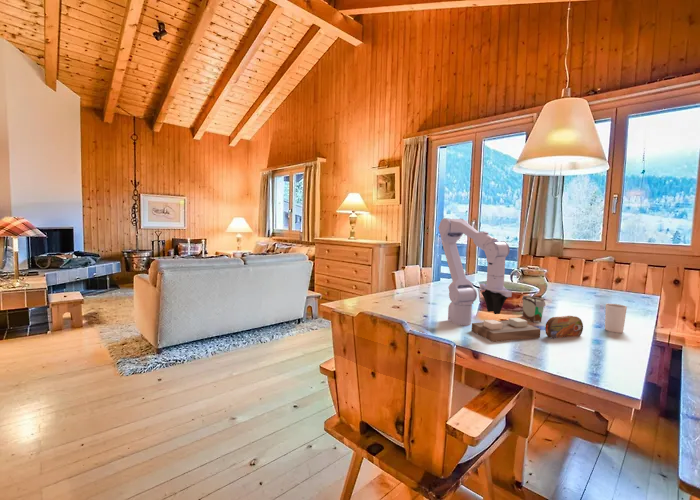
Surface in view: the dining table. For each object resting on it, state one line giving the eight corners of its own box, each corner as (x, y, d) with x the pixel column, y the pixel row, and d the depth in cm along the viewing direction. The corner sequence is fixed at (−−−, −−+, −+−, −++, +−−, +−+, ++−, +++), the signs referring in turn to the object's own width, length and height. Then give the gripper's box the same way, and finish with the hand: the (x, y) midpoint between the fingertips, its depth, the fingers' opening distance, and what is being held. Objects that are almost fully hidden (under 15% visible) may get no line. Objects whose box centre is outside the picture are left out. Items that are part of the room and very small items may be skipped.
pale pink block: (483, 328, 127) (483, 320, 127) (493, 327, 129) (494, 319, 128) (491, 332, 123) (492, 323, 123) (501, 331, 125) (502, 323, 124)
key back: (508, 326, 131) (508, 318, 130) (518, 325, 132) (518, 317, 132) (517, 329, 126) (517, 321, 126) (526, 329, 128) (527, 321, 127)
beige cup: (628, 333, 134) (630, 308, 133) (608, 332, 135) (611, 307, 134) (618, 328, 140) (620, 304, 139) (600, 327, 142) (602, 303, 141)
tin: (549, 342, 123) (551, 318, 122) (542, 339, 126) (544, 316, 125) (583, 338, 127) (584, 316, 126) (575, 336, 130) (577, 314, 129)
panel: (471, 333, 131) (471, 323, 130) (515, 329, 136) (515, 319, 136) (492, 344, 119) (493, 333, 119) (539, 339, 125) (540, 329, 125)
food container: (550, 326, 142) (552, 302, 141) (535, 326, 142) (536, 301, 141) (535, 317, 154) (536, 295, 153) (521, 317, 154) (522, 295, 153)
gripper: (520, 278, 118) (517, 317, 120) (491, 271, 132) (489, 306, 133) (502, 279, 116) (500, 318, 118) (475, 272, 130) (473, 307, 131)
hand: (493, 312), depth 125 cm, fingers open, 3 cm apart
